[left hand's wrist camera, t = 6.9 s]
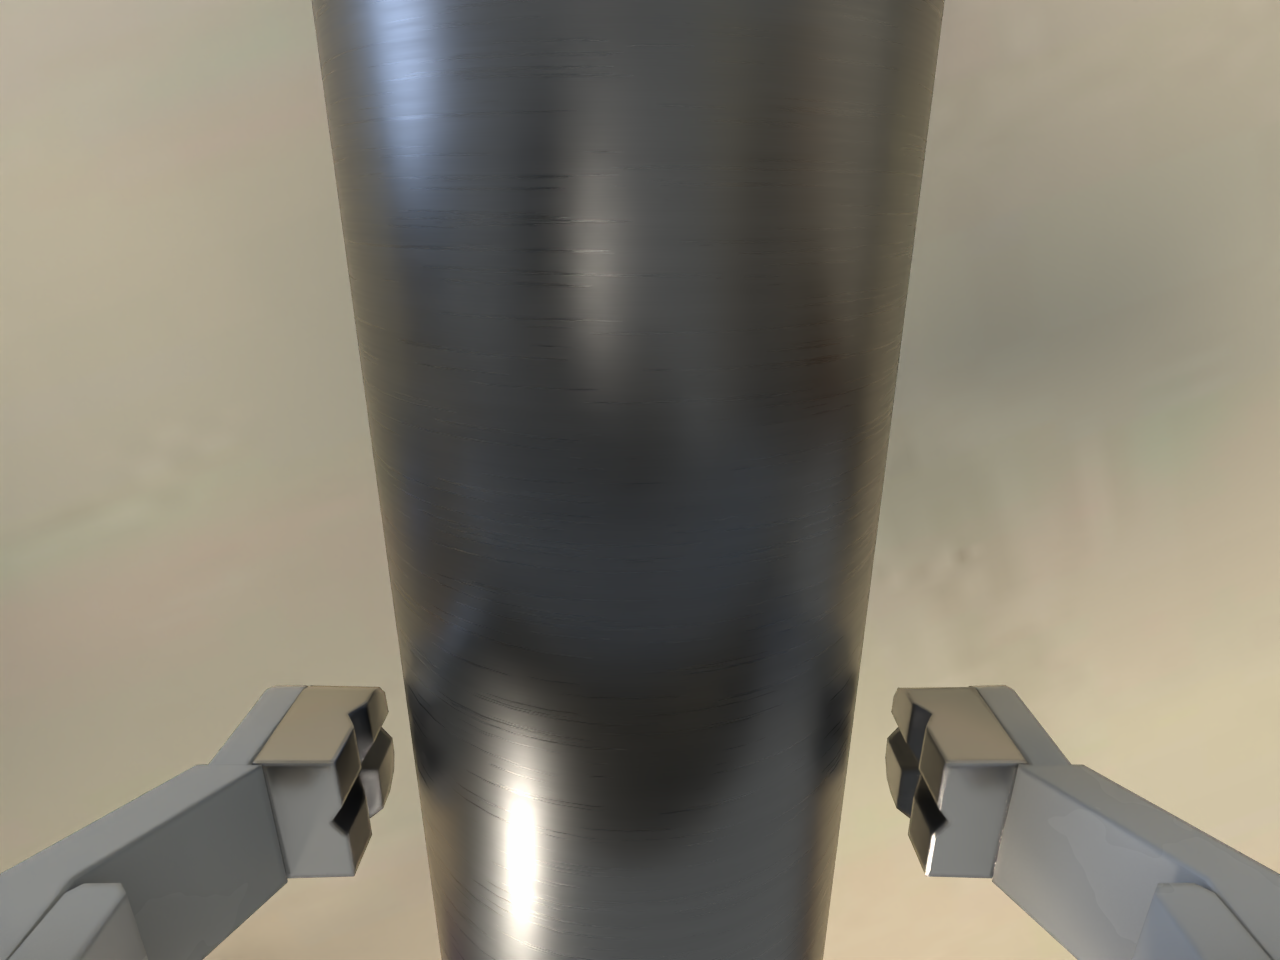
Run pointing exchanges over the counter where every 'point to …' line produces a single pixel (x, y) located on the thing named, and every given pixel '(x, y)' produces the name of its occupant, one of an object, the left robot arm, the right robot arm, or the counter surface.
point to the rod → (630, 440)
